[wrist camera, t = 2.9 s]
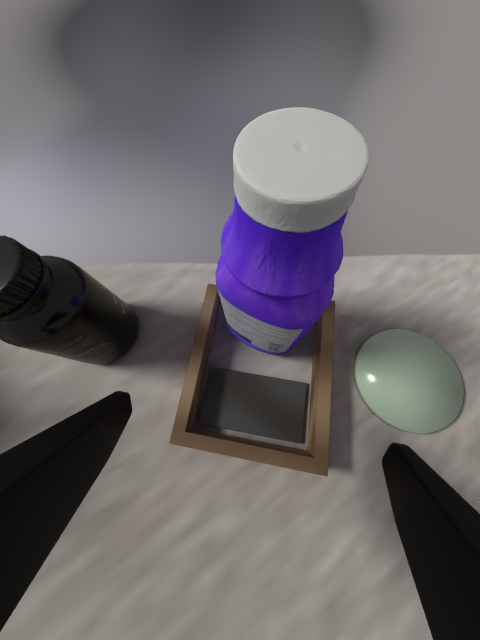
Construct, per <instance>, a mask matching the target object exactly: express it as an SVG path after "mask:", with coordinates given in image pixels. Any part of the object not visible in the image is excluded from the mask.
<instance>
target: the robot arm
mask: <svg viewBox="0 0 480 640" xmlns="http://www.w3.org/2000/svg"><path fill="white" fill-rule="evenodd" d="M131 413H132V405H131V399H130V394H129V393H127V392H122V391H117V392H114V393H112V394H111V395H109V396H107V397H105V398H103V399H101V400H100V401H98V402H96V403H94V404H92V405H90V406H89V407H87V408H85V409H83V410H81V411H79V412H77V413H76V414H74V415H72V416H70V417H68V418H66V419H65V420H63V421H61V422H59V423H57V424H55V425H54V426H52V427H50V428H48V429H46V430H44V431H42V432H41V433H39V434H37V435H35V436H33V437H31V438H30V439H28V440H26V441H24V442H22V443H20V444H19V445H17V446H15V447H13V448H11V449H9V450H7V451H6V452H4V453H2V454H0V631H1V630H2V628H3V627H4V625H5V624H6V622H7V620H8V619H9V617H10V616H11V614H12V612H13V611H14V609H15V608H16V606H17V604H18V603H19V601H20V600H21V598H22V596H23V595H24V593H25V592H26V590H27V588H28V587H29V585H30V584H31V582H32V580H33V579H34V577H35V576H36V574H37V573H38V571H39V569H40V568H41V566H42V565H43V563H44V561H45V560H46V558H47V557H48V555H49V553H50V552H51V550H52V549H53V547H54V545H55V544H56V542H57V541H58V539H59V537H60V536H61V534H62V533H63V531H64V529H65V528H66V526H67V525H68V523H69V521H70V520H71V518H72V517H73V515H74V514H75V512H76V510H77V509H78V507H79V506H80V504H81V502H82V501H83V499H84V498H85V496H86V494H87V493H88V491H89V490H90V488H91V486H92V485H93V483H94V482H95V480H96V478H97V477H98V475H99V474H100V472H101V470H102V469H103V467H104V466H105V464H106V462H107V461H108V459H109V457H110V455H111V454H112V452H113V450H114V448H115V446H116V444H117V442H118V440H119V438H120V436H121V434H122V432H123V430H124V428H125V426H126V424H127V422H128V420H129V418H130V416H131ZM382 466H383V471H384V475H385V479H386V484H387V488H388V493H389V497H390V502H391V506H392V510H393V514H394V518H395V522H396V525H397V529H398V532H399V535H400V538H401V541H402V544H403V547H404V551H405V554H406V557H407V560H408V563H409V566H410V569H411V572H412V575H413V578H414V582H415V585H416V588H417V591H418V594H419V597H420V600H421V603H422V606H423V610H424V613H425V616H426V619H427V622H428V625H429V628H430V631H431V634H432V637H433V640H480V514H479V513H478V512H477V511H476V510H475V509H474V508H473V507H472V506H471V505H470V504H469V503H468V502H467V501H466V500H465V499H463V498H462V497H461V496H460V495H459V494H458V493H457V492H456V491H455V490H454V489H453V488H452V487H451V486H450V485H449V484H448V483H447V482H446V481H445V480H443V479H442V478H441V477H440V476H439V475H438V474H437V473H436V472H435V471H434V470H433V469H432V468H431V467H430V466H429V465H428V464H427V463H426V462H425V461H424V460H422V459H421V458H420V457H419V456H418V455H417V454H416V453H415V452H414V451H413V450H412V449H411V448H410V447H409V446H407V445H405V444H400V443H391V444H390V446H389V448H388V449H387V451H386V453H385V455H384V456H383V459H382Z"/></svg>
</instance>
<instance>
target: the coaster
mask: <svg viewBox="0 0 480 640" xmlns="http://www.w3.org/2000/svg"><path fill="white" fill-rule="evenodd" d="M354 380H355V384H356V387H357V390H358V392H359V394H360V396H361V398H362V400H363V401H364V403H365V404H366V406H367V407H368V408H369V409H370V410H371V412H373V413H374V414H375V415H376V416H377V417H378V418H379V419H381V420H382V421H383V422H385V423H387V424H388V425H390V426H392V427H395V428H397V429H400V430H403V431H408V432H413V433H432V432H436V431H439V430H441V429H443V428H445V427H447V426H448V425H449V424H451V423H452V422H453V421H454V420H455V418H456V417H457V416H458V414H459V412H460V410H461V407H462V404H463V398H464V388H463V381H462V378H461V375H460V372H459V370H458V368H457V366H456V364H455V362H454V361H453V359H452V358H451V356H450V355H449V354H448V353H447V352H446V351H445V350H444V349H443V348H442V347H441V346H440V345H439V344H437V343H436V342H435V341H433V340H432V339H430V338H429V337H427V336H425V335H423V334H420V333H418V332H415V331H411V330H405V329H390V330H386V331H382V332H380V333H378V334H376V335H374V336H372V337H370V338H369V339H368V340H366V341H365V342H364V343H363V345H362V346H361V347H360V349H359V350H358V352H357V355H356V358H355V361H354Z"/></svg>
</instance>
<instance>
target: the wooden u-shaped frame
mask: <svg viewBox="0 0 480 640" xmlns="http://www.w3.org/2000/svg"><path fill="white" fill-rule="evenodd" d="M220 300H221V299H220V296H219V292H218V288H217V285H212V284H208V286H207V291H206V295H205V299H204V303H203V307H202V311H201V315H200V319H199V323H198V328H197V332H196V336H195V340H194V344H193V348H192V352H191V356H190V360H189V364H188V369H187V373H186V377H185V381H184V385H183V389H182V393H181V397H180V401H179V405H178V410H177V414H176V418H175V422H174V426H173V430H172V434H171V438H170V442H169V443H170V444H175V445H179V446H184V447H189V448H194V449H199V450H203V451H208V452H213V453H218V454H222V455H227V456H232V457H237V458H242V459H246V460H251V461H256V462H261V463H266V464H270V465H275V466H280V467H285V468H289V469H294V470H299V471H304V472H309V473H313V474H318V475H323V476H328V454H329V431H330V407H331V383H332V360H333V336H334V312H335V301H330V303H329V306H328V307H327V309H326V310H325V311H323V312H322V314H321V316H320V317H319V319H318V321H317V322H316V324H315V339H314V353H313V367H312V382H311V396H310V410H309V425H308V439H307V451H304V450H299V449H294V448H289V447H284V446H279V445H274V444H269V443H264V442H259V441H254V440H249V439H244V438H239V437H234V436H229V435H224V434H219V433H214V432H209V431H204V430H199V429H194V428H193V424H194V419H195V414H196V410H197V405H198V401H199V396H200V392H201V387H202V382H203V378H204V373H205V369H206V364H207V360H208V355H209V350H210V346H211V341H212V337H213V332H214V328H215V323H216V318H217V314H218V309H219V305H220ZM306 384H307V383H302V382H296V381H290V380H285V379H279V378H273V377H267V376H261V375H255V374H250V373H244V372H238V371H232V370H226V369H220V368H215V367H210V372H209V376H208V381H207V386H206V391H205V395H204V400H203V405H202V409H201V414H200V419H199V424H204V425H209V426H214V427H219V428H224V429H229V430H234V431H239V432H244V433H249V434H254V435H259V436H264V437H269V438H274V439H280V440H285V441H290V442H295V443H300V444H302V437H303V423H304V410H305V397H306Z"/></svg>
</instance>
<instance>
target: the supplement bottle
mask: <svg viewBox="0 0 480 640" xmlns="http://www.w3.org/2000/svg"><path fill="white" fill-rule="evenodd" d="M138 329H139V324H138V318H137V316H136V314H135V312H134V311H133V309H132V308H131V307H130V306H129V305H127V304H126V303H125V302H124V301H122V300H121V299H120V298H119V297H117V296H116V295H115V294H113V293H112V292H111V291H110V290H108V289H107V288H106V287H105V286H103V285H102V284H101V283H99V282H98V281H97V280H96V279H94V278H93V277H92V276H90V275H89V274H88V273H87V272H85V271H84V270H83V269H81V268H80V267H79V266H77V265H76V264H74V263H73V262H71V261H69V260H67V259H64V258H60V257H54V256H40V255H39V254H37V253H35V252H34V251H32V250H30V249H28V248H26V247H25V246H23V245H22V244H20V243H19V242H17V241H16V240H14V239H12V238H9V237H7V236H0V340H2V341H4V342H6V343H8V344H11V345H14V346H18V347H22V348H26V349H30V350H35V351H39V352H43V353H47V354H51V355H55V356H60V357H64V358H68V359H72V360H76V361H81V362H85V363H90V364H99V365H100V364H107V363H110V362H113V361H115V360H117V359H119V358H121V357H122V356H123V355H125V354H126V353H127V352H128V351H129V350H130V348H131V347H132V346H133V344H134V342H135V340H136V338H137V335H138Z"/></svg>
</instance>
